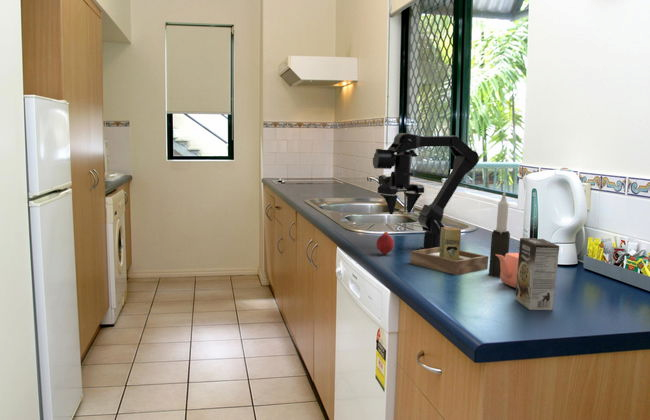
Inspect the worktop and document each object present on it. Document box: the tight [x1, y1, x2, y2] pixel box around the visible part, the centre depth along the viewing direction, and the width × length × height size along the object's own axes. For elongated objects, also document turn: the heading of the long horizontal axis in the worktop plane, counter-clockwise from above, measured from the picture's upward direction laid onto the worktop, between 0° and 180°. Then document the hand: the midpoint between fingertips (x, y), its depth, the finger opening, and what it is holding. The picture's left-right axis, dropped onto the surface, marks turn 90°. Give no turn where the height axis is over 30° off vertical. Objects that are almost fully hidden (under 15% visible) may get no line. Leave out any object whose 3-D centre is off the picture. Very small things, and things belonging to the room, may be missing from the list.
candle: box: [488, 192, 511, 278], centre depth 183 cm, size 5×5×25 cm
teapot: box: [496, 252, 519, 289], centre depth 170 cm, size 12×18×10 cm, turn 107°
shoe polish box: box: [439, 226, 462, 261], centre depth 194 cm, size 5×5×12 cm
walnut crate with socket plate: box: [409, 247, 489, 276], centre depth 194 cm, size 16×18×4 cm
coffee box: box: [514, 237, 560, 311], centre depth 152 cm, size 9×6×16 cm
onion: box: [376, 231, 395, 255], centre depth 208 cm, size 6×6×8 cm
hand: (399, 213), depth 217 cm, fingers open, 9 cm apart
